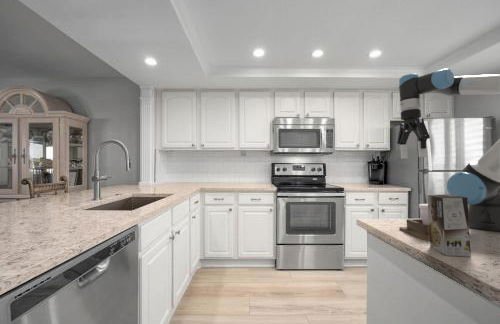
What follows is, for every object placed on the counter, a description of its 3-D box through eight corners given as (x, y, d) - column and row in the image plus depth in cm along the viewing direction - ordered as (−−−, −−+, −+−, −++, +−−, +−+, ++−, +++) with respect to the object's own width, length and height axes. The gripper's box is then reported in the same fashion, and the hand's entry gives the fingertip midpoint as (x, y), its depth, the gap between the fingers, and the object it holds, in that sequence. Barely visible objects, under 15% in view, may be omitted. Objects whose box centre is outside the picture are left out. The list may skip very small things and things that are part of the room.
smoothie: (425, 233, 90) (423, 193, 90) (416, 229, 96) (414, 192, 97) (445, 233, 89) (442, 193, 89) (435, 229, 95) (432, 192, 96)
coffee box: (472, 257, 69) (468, 197, 69) (445, 256, 70) (442, 197, 70) (452, 246, 78) (449, 194, 78) (429, 246, 79) (426, 194, 79)
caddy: (436, 228, 100) (435, 217, 100) (468, 239, 84) (468, 226, 84) (399, 229, 101) (399, 218, 101) (425, 240, 85) (424, 227, 85)
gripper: (387, 116, 125) (390, 159, 125) (418, 103, 101) (421, 156, 100) (403, 115, 125) (405, 158, 124) (438, 102, 100) (441, 155, 99)
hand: (413, 157), depth 112 cm, fingers open, 13 cm apart
